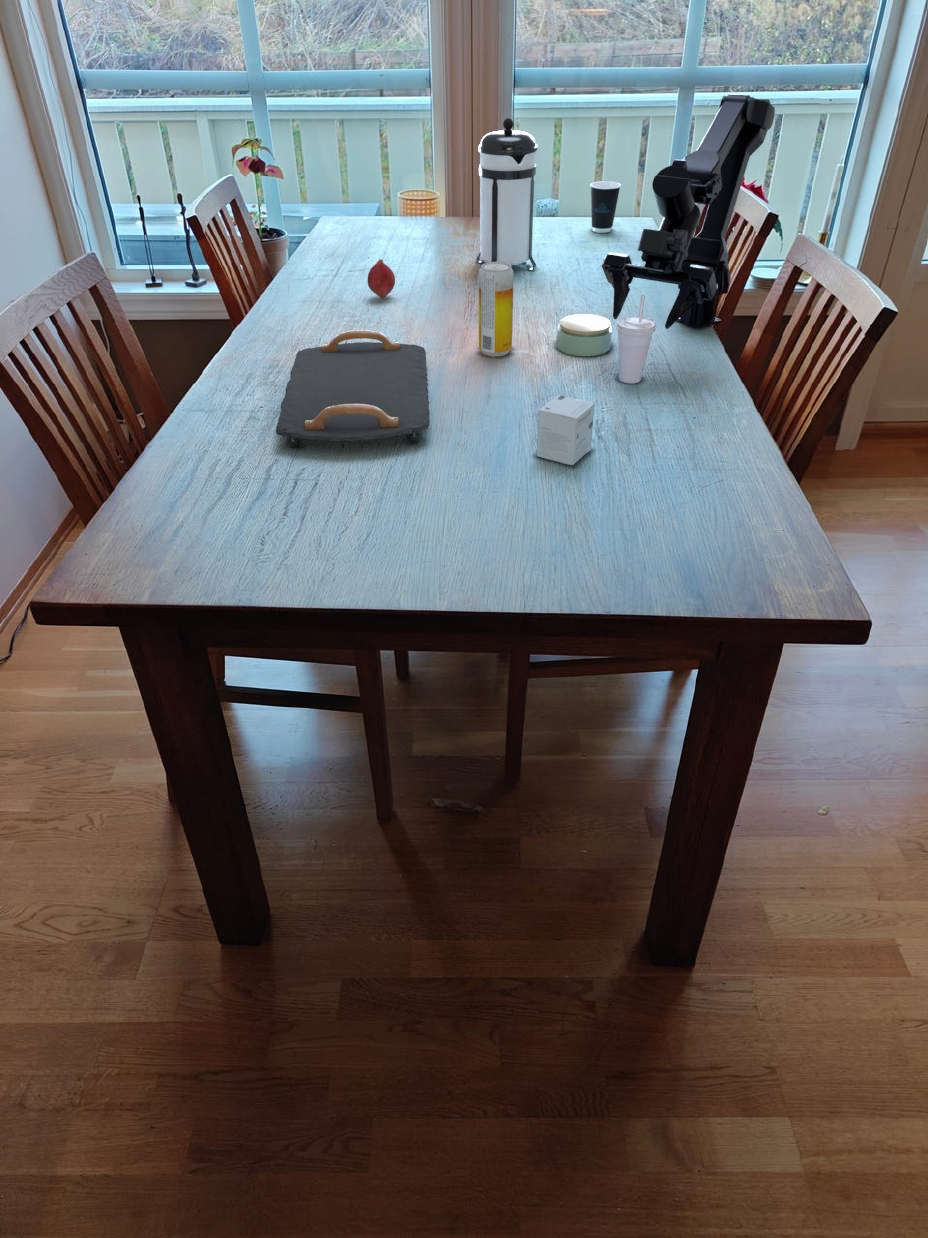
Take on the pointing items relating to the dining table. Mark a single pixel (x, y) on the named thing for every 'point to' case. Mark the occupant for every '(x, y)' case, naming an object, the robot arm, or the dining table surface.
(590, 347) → the jar
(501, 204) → the coffee press
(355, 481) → the dining table surface
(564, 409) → the product carton
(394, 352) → the serving tray
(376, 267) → the onion
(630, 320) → the smoothie
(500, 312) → the beer can
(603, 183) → the dixie cup
